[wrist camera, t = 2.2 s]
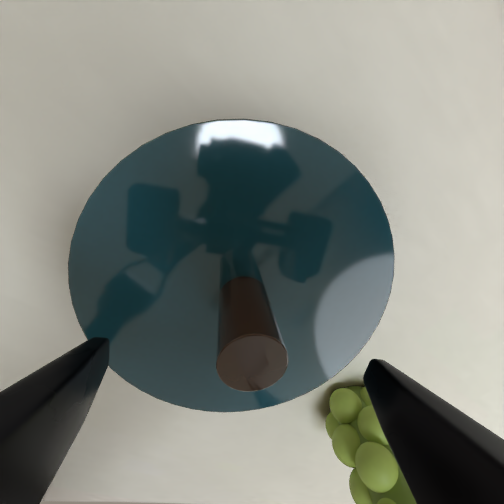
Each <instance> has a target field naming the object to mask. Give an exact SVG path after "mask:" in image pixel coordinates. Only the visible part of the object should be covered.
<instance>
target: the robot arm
mask: <svg viewBox="0 0 504 504" xmlns="http://www.w3.org/2000/svg"><path fill="white" fill-rule="evenodd" d="M109 346H110V342H109V339H108V338H105V337H93V338H91V339H89V340H88V341H86V342H84V343H82V344H81V345H79V346H77V347H76V348H74V349H72V350H71V351H69V352H67V353H66V354H64V355H62V356H61V357H59V358H57V359H55V360H54V361H52V362H50V363H49V364H47V365H45V366H44V367H42V368H40V369H39V370H37V371H35V372H33V373H32V374H30V375H28V376H27V377H25V378H23V379H22V380H20V381H18V382H17V383H15V384H13V385H12V386H10V387H8V388H6V389H5V390H3V391H1V392H0V504H40V502H41V500H42V498H43V496H44V494H45V493H46V491H47V489H48V487H49V485H50V483H51V482H52V480H53V478H54V476H55V474H56V472H57V471H58V469H59V467H60V465H61V463H62V461H63V460H64V458H65V456H66V454H67V452H68V450H69V449H70V447H71V445H72V443H73V441H74V439H75V438H76V436H77V434H78V432H79V430H80V428H81V426H82V424H83V422H84V421H85V418H86V416H87V414H88V412H89V409H90V407H91V405H92V402H93V400H94V398H95V395H96V393H97V390H98V388H99V386H100V383H101V381H102V379H103V376H104V374H105V372H106V369H107V367H108V364H109ZM363 380H364V384H365V387H366V390H367V392H368V395H369V398H370V400H371V403H372V405H373V408H374V411H375V413H376V416H377V419H378V421H379V424H380V426H381V429H382V431H383V433H384V435H385V438H386V440H387V442H388V444H389V446H390V448H391V450H392V452H393V454H394V457H395V459H396V461H397V463H398V465H399V467H400V469H401V471H402V474H403V476H404V478H405V480H406V482H407V484H408V486H409V488H410V491H411V493H412V495H413V497H414V499H415V501H416V503H417V504H504V440H503V439H502V438H500V437H499V436H497V435H496V434H494V433H493V432H491V431H490V430H488V429H487V428H485V427H484V426H482V425H481V424H479V423H478V422H476V421H475V420H473V419H472V418H470V417H469V416H467V415H466V414H464V413H463V412H461V411H460V410H458V409H457V408H455V407H454V406H452V405H451V404H449V403H448V402H446V401H445V400H443V399H442V398H440V397H439V396H437V395H436V394H434V393H432V392H431V391H429V390H428V389H426V388H425V387H423V386H422V385H420V384H419V383H417V382H416V381H414V380H413V379H411V378H410V377H408V376H407V375H405V374H404V373H402V372H401V371H399V370H398V369H396V368H395V367H393V366H392V365H390V364H389V363H387V362H386V361H384V360H380V359H372V360H371V361H370V362H369V365H368V367H367V369H366V371H365V374H364V377H363Z"/></svg>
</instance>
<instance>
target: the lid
mask: <svg viewBox="0 0 504 504" xmlns="http://www.w3.org/2000/svg"><path fill="white" fill-rule="evenodd" d="M68 275H69V289H70V294H71V299H72V305H73V308H74V310H75V313H76V316H77V319H78V322H79V324H80V326H81V328H82V330H83V332H84V334H85V336H86V338H87V339H88V340H89V339H91V338H93V337H105V338H108V339H109V342H110V346H109V364H108V366H109V367H110V368H111V369H112V370H113V371H115V372H116V373H117V374H118V375H119V376H121V377H122V378H123V379H124V380H125V381H127V382H128V383H130V384H132V385H133V386H135V387H136V388H138V389H139V390H141V391H143V392H145V393H147V394H149V395H151V396H153V397H155V398H157V399H160V400H163V401H165V402H168V403H171V404H174V405H177V406H181V407H185V408H189V409H195V410H202V411H211V412H241V411H249V410H256V409H262V408H266V407H270V406H274V405H278V404H281V403H284V402H287V401H290V400H292V399H295V398H297V397H299V396H301V395H304V394H306V393H308V392H310V391H311V390H313V389H315V388H317V387H319V386H320V385H322V384H323V383H325V382H326V381H328V380H329V379H331V378H332V377H333V376H335V375H336V374H337V373H338V372H340V371H341V370H342V369H343V368H344V367H345V366H347V365H348V364H349V363H350V362H351V361H352V359H353V358H354V357H355V356H356V355H357V354H358V353H359V352H360V351H361V349H362V348H363V347H364V346H365V344H366V343H367V342H368V340H369V339H370V337H371V336H372V334H373V332H374V331H375V329H376V327H377V326H378V324H379V322H380V320H381V317H382V315H383V313H384V311H385V308H386V305H387V302H388V299H389V296H390V293H391V287H392V281H393V276H394V248H393V238H392V234H391V230H390V226H389V222H388V219H387V216H386V214H385V211H384V209H383V206H382V204H381V202H380V200H379V198H378V197H377V195H376V193H375V192H374V190H373V188H372V187H371V185H370V183H369V182H368V181H367V180H366V178H365V177H364V176H363V175H362V174H361V172H360V171H359V170H358V169H357V168H356V167H355V166H354V165H353V164H352V163H351V162H350V161H349V160H348V159H346V158H345V157H344V156H343V155H342V154H341V153H340V152H338V151H337V150H335V149H334V148H332V147H331V146H329V145H328V144H326V143H324V142H323V141H321V140H320V139H318V138H316V137H313V136H311V135H309V134H307V133H304V132H302V131H300V130H298V129H295V128H292V127H288V126H284V125H281V124H277V123H273V122H268V121H259V120H251V119H221V120H213V121H207V122H202V123H196V124H191V125H188V126H185V127H182V128H179V129H176V130H173V131H170V132H167V133H165V134H163V135H161V136H159V137H157V138H155V139H153V140H151V141H149V142H148V143H146V144H144V145H142V146H140V147H139V148H138V149H136V150H135V151H134V152H132V153H131V154H129V155H128V156H127V157H125V158H124V159H123V160H121V161H120V162H119V163H118V164H117V165H116V166H115V167H114V168H113V169H112V170H111V171H110V172H109V173H108V174H107V175H106V176H105V177H104V178H103V179H102V181H101V182H100V184H99V185H98V186H97V188H96V189H95V190H94V192H93V193H92V195H91V196H90V197H89V199H88V201H87V203H86V205H85V207H84V209H83V211H82V213H81V215H80V217H79V219H78V222H77V225H76V228H75V231H74V234H73V238H72V241H71V247H70V254H69V261H68Z"/></svg>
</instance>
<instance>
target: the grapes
mask: <svg viewBox="0 0 504 504" xmlns="http://www.w3.org/2000/svg"><path fill="white" fill-rule="evenodd" d="M329 405H330V410H331V412H330V413H329V414H328V416H327V418H326V430H327V433H328V435H329V437H330V438H331V439H332V445H333V449H334V452H335V454H336V456H337V457H338V459H339V460H340V461H341V462H342V463H343V464H345V465H346V466H349V467H352V468H354V469H353V471H352V472H351V475H350V479H349V486H350V492H351V495H352V497H353V499H354V501H355V503H356V504H417V503H416V501H415V499H414V497H413V495H412V493H411V491H410V488H409V486H408V484H407V482H406V480H405V478H404V476H403V474H402V471H401V469H400V467H399V465H398V463H397V461H396V459H395V457H394V454H393V452H392V450H391V448H390V446H389V444H388V442H387V440H386V438H385V435H384V433H383V431H382V429H381V426H380V424H379V421H378V419H377V416H376V413H375V411H374V408H373V405H372V403H371V400H370V398H369V395H368V392H367V390H366V387H360V386H350V387H347V388H339V389H337V390H335V391H334V392H333V393H332V394H331V397H330V400H329Z"/></svg>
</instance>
